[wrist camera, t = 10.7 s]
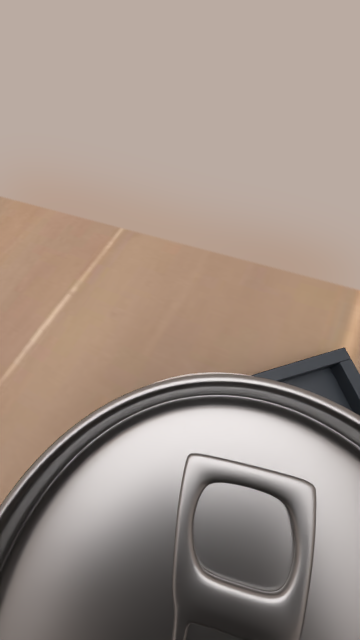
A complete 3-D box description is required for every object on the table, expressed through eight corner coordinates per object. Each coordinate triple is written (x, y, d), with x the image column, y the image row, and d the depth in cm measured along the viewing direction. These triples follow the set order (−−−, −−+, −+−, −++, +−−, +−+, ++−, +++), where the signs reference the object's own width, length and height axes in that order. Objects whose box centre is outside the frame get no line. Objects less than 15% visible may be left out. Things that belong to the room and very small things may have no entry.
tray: (460, 597, 14) (499, 622, 12) (134, 706, 14) (122, 749, 12) (331, 356, 20) (344, 347, 18) (96, 426, 19) (84, 425, 17)
